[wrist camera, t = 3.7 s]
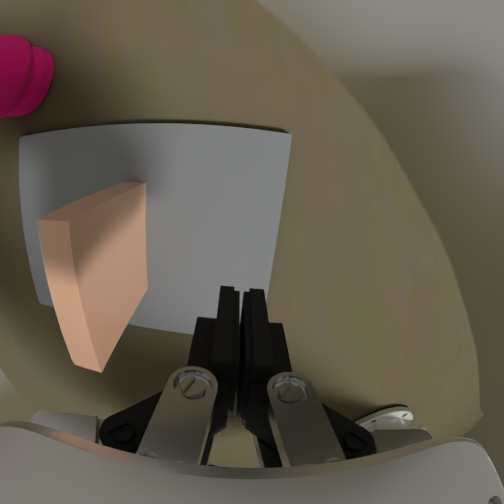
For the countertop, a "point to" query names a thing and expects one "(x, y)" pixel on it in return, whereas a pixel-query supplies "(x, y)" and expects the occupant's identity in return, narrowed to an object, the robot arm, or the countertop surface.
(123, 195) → the tile
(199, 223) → the mat
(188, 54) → the countertop surface
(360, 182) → the countertop surface
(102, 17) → the countertop surface
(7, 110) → the pepper mill
